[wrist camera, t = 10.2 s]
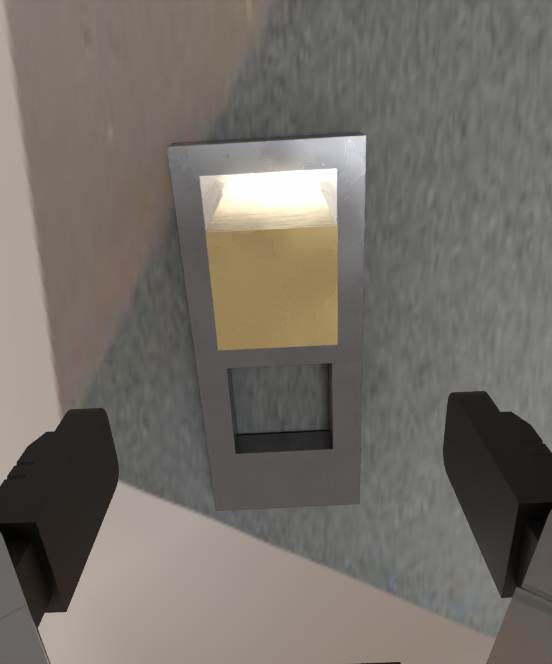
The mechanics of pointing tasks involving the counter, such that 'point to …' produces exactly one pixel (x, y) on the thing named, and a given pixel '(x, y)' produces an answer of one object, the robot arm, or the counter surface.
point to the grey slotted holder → (344, 359)
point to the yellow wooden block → (274, 270)
